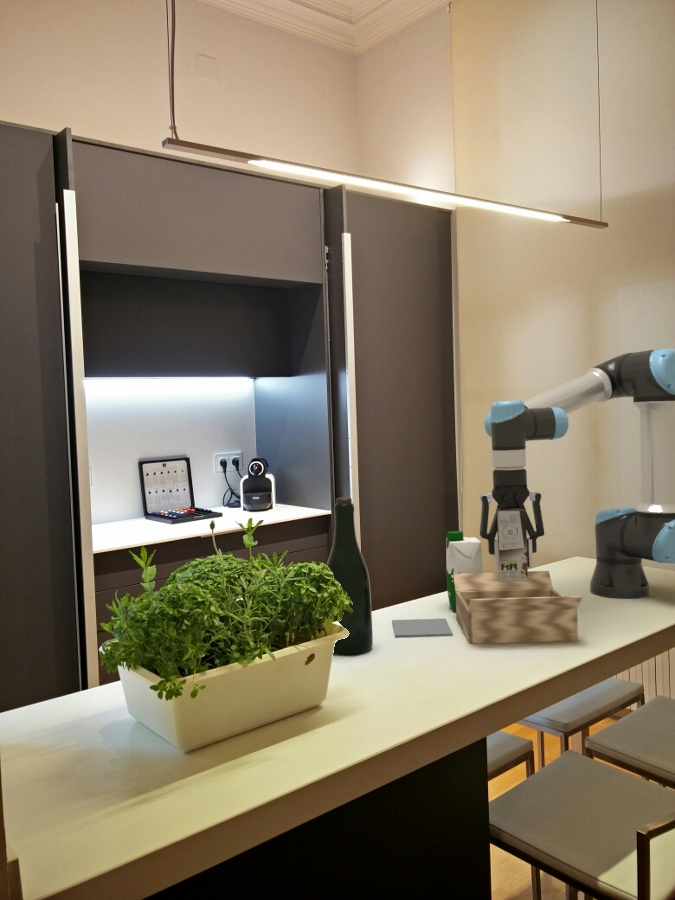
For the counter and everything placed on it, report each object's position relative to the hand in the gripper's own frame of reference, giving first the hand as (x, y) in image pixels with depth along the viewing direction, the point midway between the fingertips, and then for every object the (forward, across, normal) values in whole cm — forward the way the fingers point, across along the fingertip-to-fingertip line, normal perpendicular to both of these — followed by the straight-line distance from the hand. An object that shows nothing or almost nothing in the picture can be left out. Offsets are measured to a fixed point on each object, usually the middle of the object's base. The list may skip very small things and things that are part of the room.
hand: (513, 567), depth 173 cm
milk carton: (+15, +8, -20) cm, 26 cm away
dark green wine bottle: (+14, +38, +11) cm, 42 cm away
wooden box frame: (+14, 0, 0) cm, 14 cm away
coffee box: (+3, 0, 0) cm, 3 cm away
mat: (+14, +22, -3) cm, 26 cm away
